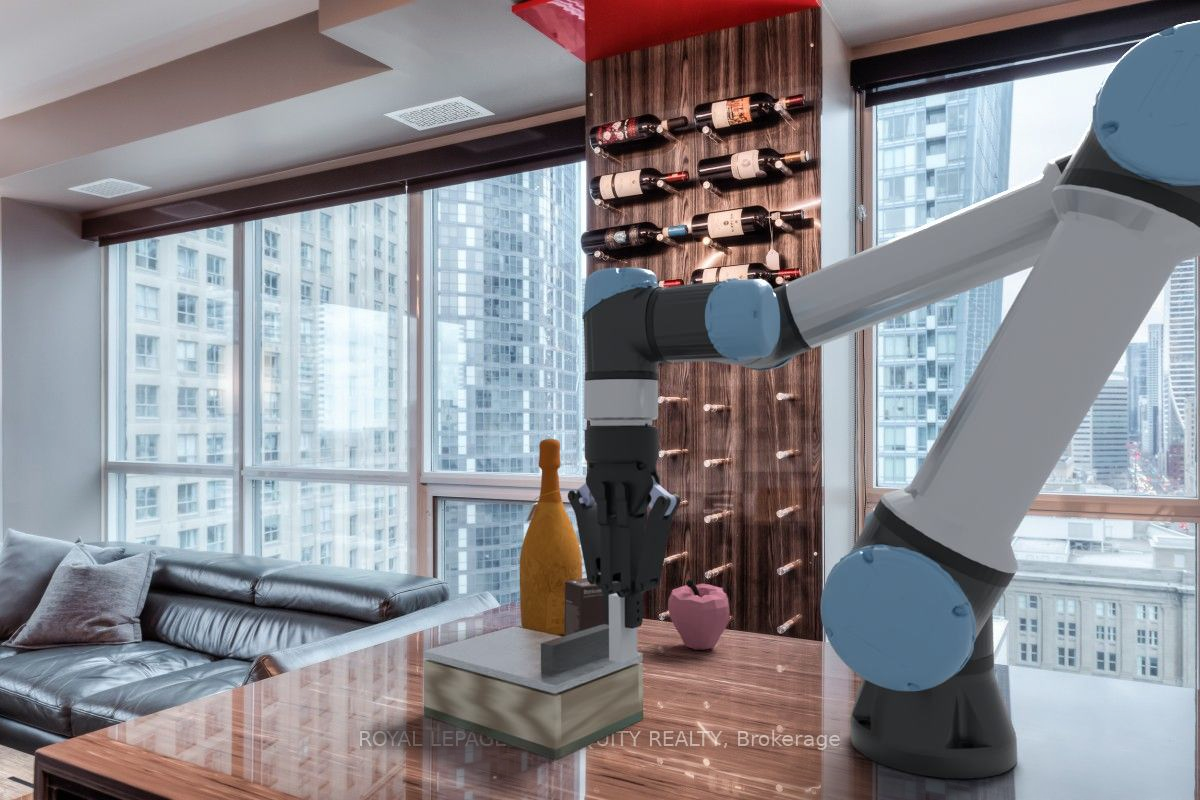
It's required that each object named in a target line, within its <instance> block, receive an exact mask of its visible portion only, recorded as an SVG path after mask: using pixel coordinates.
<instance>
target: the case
mask: <svg viewBox="0 0 1200 800" xmlns="http://www.w3.org/2000/svg"><path fill="white" fill-rule="evenodd" d="M643 666H644V664H643V663H642V662H638V663H635V664H633V665H630V666H627V667H625V668H622V669H619V670H617V671H614V672H611V673H609V674H606V675H604V676H601V677H598V678H596V679H593V680H590V681H588V682H585V683H582V684H580V685H577V686H574V687H572V688H569V689H566V690H564V691H561V692H559V693H556V694H554V693H551V692H547V691H543V690H540V689H536V688H532V687H528V686H525V685H521V684H517V683H514V682H510V681H506V680H503V679H499V678H495V677H492V676H488V675H484V674H480V673H477V672H473V671H469V670H466V669H462V668H458V667H455V666H451V665H447V664H444V663H440V662H436V661H432V660H429V659H426V660H423V716H426V717H429V718H431V719H434V720H437V721H440V722H443V723H445V724H449V725H452V726H455V727H458V728H461V729H463V730H467V731H470V732H472V733H475V734H478V735H481V736H484V737H487V738H490V739H493V740H496V741H499V742H502V743H505V744H507V745H509V746H513V747H515V748H516V747H517V748H519V749H522V750H525V751H528V752H530V753H533V754H536V755H539V756H543V757H546V758H548V759H552V760H554V761H557V760H560V759H561V758H564V757H566V756H568V755H570V754H572V753H574V752H576V751H578V750H581V749H583V748H584V747H587V746H589V745H592V744H593V743H595V742H598V741H600V740H601V739H605V738H606V737H608V736H610V735H613V734H614V733H617V732H619V731H621V730H624V729H626V728H628V727H630V726H632V725H634V724H636V723H638V722H641V721H642V720H644V678H643V677H644V672H643V671H644V667H643Z"/></svg>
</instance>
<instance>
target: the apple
mask: <svg viewBox="0 0 1200 800" xmlns="http://www.w3.org/2000/svg"><path fill="white" fill-rule="evenodd" d="M685 583H686V584H685V585H684V586H683V585H682V586H680V587H677V588H674V589H672V591H671V593H670V595H669V598H668V601H667V603H668V605H667V610H668V615H669V618H670V620H671V622H672V624H673V626H674V627H675V630H676V632H677V633H678V635H679V636H680V638H681V640H682V643H683V645H684V646H685V647H687V648H690V649H693V650H695V651H697V650H700V651H705V650H710V649H713V648H715V647H716V645H717V643H718V642H719V640H720V637H721V635H722V634H723V633H724V631H725V630H726V628H727V626H728V625H729V622H730V620H731V617H730V613H731V612H730V604H729V597H728V594H727V593H725V592H724V588H723V587H719V586H714V585H713V584H706V583H699V584H696V583H695V582H694V581H693V580H692V579H688V580H687V581H686V582H685Z"/></svg>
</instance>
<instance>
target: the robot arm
mask: <svg viewBox="0 0 1200 800" xmlns="http://www.w3.org/2000/svg"><path fill="white" fill-rule="evenodd" d="M1094 100H1095V101H1094V103H1093V105H1092V118H1091V120H1090V122H1089V124H1088V126H1087V127H1086V129H1085V131H1084V133H1083V135H1082V137H1081V138H1080V140H1079V143H1078V144H1077V146H1076V148H1075V149H1073V150H1072V151H1069V152H1067V153H1064V154H1061V156H1058V157H1056V158H1053V159H1050V160H1049V161H1047V163H1046V165H1045V167H1044V168H1043V170H1042V173H1041V174H1040V175H1039V176H1038V177H1036V178H1034V179H1032V180H1029V181H1027V182H1025V183H1022V184H1020V185H1017V186H1015V187H1013V188H1010V189H1009V190H1006V191H1002V192H1001V193H998V194H996V195H993V196H991V197H989V198H986V199H984V200H982V201H979V202H977V203H974V204H972V205H970V206H968V207H965V208H962V209H960V210H958V211H956V212H953V213H951V214H949V215H945V216H943V217H941V218H939V219H936V220H934V221H932V222H929V223H927V224H924V225H922V226H920V227H917V228H915V229H913V230H910V231H908V232H906V233H903V234H900V235H898V236H896V237H893V238H891V239H889V240H887V241H885V242H882V243H879V244H877V245H875V246H872V247H870V248H867V249H865V250H863V251H861V252H858V253H856V254H853V255H851V256H847V257H846V258H844V259H842V260H839V261H837V262H835V263H831V264H829V265H827V266H825V267H823V268H821V269H818V270H815V271H813V272H810V273H807V274H806V275H804V276H803V275H802V276H800V277H798V278H796V279H794V280H791V281H789V282H787V283H786V284H784V285H780V286H778V287H775V288H773V286H772V285H771V283H769V282H768V281H766V280H764V279H761V278H749V279H739V278H735V277H734V278H727V279H726V280H719V281H710V282H701V283H693V284H692V283H691V284H684V285H675V286H663V287H662V286H659V283H658V277H657V275H656V274H655V273H654V272H653V271H652V270H650V269H646V268H640V267H621V268H620V267H608V268H604V269H598V270H596V271H593V272H592V273H591V274H589V275H588V276H587V278H586V280H585V284H584V297H583V298H584V299H583V300H584V301H583V311H582V320H583V339H584V347H583V348H584V385H583V386H584V390H583V392H584V393H583V395H584V396H583V401H584V402H583V405H584V406H583V419H585V420H586V421H589V423H590V426H586V429H584V459H585V461H586V462H588V471H587V473H586V475H585V483H583V484H582V486H580V487H579V488H578V489H573V490H572V489H571V490H569V491H568V493H567V499H568V502H569V503H570V505H571V507H572V510H573V512H574V515H575V520H576V525H577V531H578V536H579V542H580V543H579V544H580V549H581V554H582V557H583V558H582V560H583V564H584V570H585V575H586V578H587V580H588V582H589V583H590V584H595V585H597V586H599V587H600V588H601V590H602V591H603V593H604V620H605V623H606V624H609V660H610V661H614V662H619V663H622V662H625V661H628V660H630V659H633V658H636V657H637V652H638V628H639V627H641V626H642V624H643V595H644V593H646V592H647V591H651V590H655V589H656V588H657V589H658V588H659V587H660V583H661V578H662V573H663V568H664V562H665V558H666V552H667V547H668V541H669V537H670V531H671V527H672V521H673V518H674V515H675V514H676V512H677V510H678V508H679V506H680V505H681V502H682V500H681V496H680V495H678V494H677V493H674V494H673V493H672V494H670V492H668V491H667V490H666V489H665V488H664V487H662V486H661V479H660V476H659V474H658V472H657V471H658V470H657V468H656V467H657V463H658V460H659V458H660V446H659V445H660V444H659V443H660V442H659V441H660V440H659V439H660V438H659V437H660V436H659V435H660V431H659V428H657V426H656V425H653V420H654V421H655V420H657V419H658V418H659V381H658V380H659V364H672V363H697V362H698V363H699V362H702V363H703V362H711V363H712V362H715V363H720V364H726V365H732V366H739V367H744V368H747V369H750V370H753V371H758V372H759V371H761V372H762V371H763V372H764V371H770V370H775V369H778V368H782V367H784V366H786V365H788V363H790V362H791V361H792V360H794V358H795V357H796V356H798V355H802V354H804V353H806V352H808V351H811V350H813V349H815V348H818V347H820V346H823V345H825V344H828V343H831V342H834V341H836V340H837V341H838V340H839V339H841V338H844V337H846V336H850V335H852V334H855V333H858V332H861V331H863V330H866V329H869V328H871V327H874V326H877V325H880V324H881V323H882V324H883V323H884V322H887V321H890V320H893V319H896V318H898V317H901V316H904V315H906V314H909V313H912V312H914V311H917V310H920V309H923V308H925V307H927V306H931V305H933V304H936V303H939V302H941V301H944V300H947V299H949V298H952V297H955V296H957V295H961V294H963V293H966V292H968V291H970V290H974V289H976V288H979V287H981V286H985V285H987V284H990V283H992V282H996V281H999V280H1001V279H1003V278H1006V277H1009V276H1011V275H1014V274H1017V273H1019V272H1023V271H1024V270H1027V269H1030V268H1032V269H1031V271H1030V272H1029V274H1028V275H1027V278H1026V279H1025V281H1024V282H1023V285H1022V286H1021V288H1020V290H1019V292H1018V293H1017V295H1016V297H1015V299H1014V300H1013V302H1012V304H1011V306H1010V308H1009V309H1008V311H1007V313H1006V314H1005V316H1004V318H1003V320H1002V321H1001V323H1000V325H999V327H998V329H997V331H996V332H995V334H994V336H993V338H992V340H991V341H990V343H989V345H988V346H987V348H986V349H985V352H984V353H983V356H982V357H981V359H980V361H979V362H978V364H977V366H976V368H975V370H974V371H973V373H972V375H971V377H970V378H969V380H968V381H967V383H966V385H965V387H964V388H963V391H962V392H961V394H960V396H959V398H958V400H957V401H956V403H955V405H954V406H953V408H952V410H951V412H950V414H949V415H948V417H947V419H946V420H945V422H944V424H943V425H942V428H941V430H940V432H939V433H938V435H937V437H936V439H935V440H934V442H933V444H932V445H931V447H930V449H929V451H927V452H928V453H927V454H926V456H925V458H924V459H923V462H922V463H921V465H920V466H919V468H918V470H917V472H916V474H915V476H914V478H913V479H912V481H911V482H910V484H909V485H907V486H906V487H904V488H900V489H896V490H892V491H888V492H885V493H883V495H881V497H880V499H879V500H878V502H877V505H876V506H875V508H874V509H873V511H870V512H869V513H867V515H866V516H865V519H864V527H863V529H862V530H861V533H860V534H859V536H858V538H857V540H856V541H855V543H854V544H853V546H852V548H851V550H850V552H848V553H847V554H845V555H844V556H842V557H841V558H840V560H839V561H838V562H837V563H835V564H834V565H833V567H832V569H831V570H830V572H829V573H828V576H827V578H826V580H825V583H824V586H823V589H822V591H821V592H822V593H821V596H820V597H821V598H820V618H821V619H820V620H821V623H822V626H823V629H824V633H825V634H826V635H825V636H826V638H827V640H828V643H829V644H830V646H831V648H832V649H833V651H834V652H835V654H836V655H837V657H839V659H840V660H841V661H842V662H843V663H844V664H845V666H847V667H848V668H849V669H850V670H851V671H852V672H854V673H855V674H857V675H858V676H859V677H860V678H861V679H862V680H861V683H860V685H859V689H858V691H857V695H856V697H855V700H854V704H853V707H852V710H851V714H850V722H849V723H850V742H851V744H852V745H853V747H854V748H855V749H856V750H857V751H858V752H859V753H861V754H862V755H863V756H865V757H866V758H868V759H870V760H871V761H874V762H877V763H878V764H882V765H883V766H886V767H889V768H892V769H896V770H899V771H903V772H906V773H910V774H916V775H921V776H928V777H933V778H942V779H944V778H945V779H978V778H979V779H980V778H988V777H993V776H997V775H1001V774H1003V773H1006V772H1009V770H1012V768H1014V767H1015V766H1016V764H1017V762H1018V745H1017V744H1018V741H1017V740H1018V739H1017V734H1016V731H1015V727H1014V724H1013V722H1012V720H1011V717H1010V714H1009V711H1008V709H1007V705H1006V703H1005V700H1004V697H1003V694H1002V692H1001V689H1000V686H999V684H998V681H997V677H996V674H995V656H994V655H995V654H994V653H995V652H994V650H995V649H994V648H995V647H994V646H995V645H994V619H993V618H994V617H993V613H994V612H993V611H994V610H995V608H996V606H997V604H998V603H999V601H1000V599H1001V598H1002V596H1003V594H1005V591H1006V590H1007V588H1008V586H1009V585H1010V583H1011V581H1012V580H1013V579H1014V576H1015V575H1016V573H1017V571H1018V570H1019V564H1018V561H1017V558H1016V555H1015V552H1014V550H1013V547H1012V538H1014V535H1015V534H1016V532H1017V530H1018V529H1019V528H1020V525H1021V524H1022V522H1023V520H1024V518H1025V517H1026V515H1027V514H1028V512H1029V511H1030V509H1031V508H1032V506H1033V504H1034V503H1035V501H1036V499H1037V498H1038V496H1039V494H1040V492H1041V490H1042V489H1043V487H1044V485H1045V484H1046V482H1047V481H1048V479H1049V477H1050V476H1051V474H1052V473H1053V471H1054V469H1055V467H1056V465H1057V464H1058V462H1059V461H1060V459H1061V457H1062V456H1063V454H1064V453H1065V451H1066V450H1067V448H1068V446H1069V444H1070V443H1071V441H1072V439H1073V438H1074V436H1075V435H1076V433H1077V431H1078V429H1079V427H1080V426H1081V425H1082V423H1083V422H1084V420H1085V418H1086V416H1087V415H1088V413H1089V411H1090V409H1091V408H1092V406H1093V404H1094V403H1095V401H1096V400H1097V398H1098V397H1099V394H1100V393H1101V392H1102V390H1103V388H1104V387H1105V385H1106V383H1107V382H1108V380H1109V378H1110V376H1111V374H1113V372H1114V370H1115V368H1116V366H1117V365H1118V363H1119V362H1120V361H1121V358H1122V357H1123V355H1124V354H1125V352H1126V350H1127V348H1128V346H1129V345H1130V344H1131V341H1132V340H1133V338H1134V337H1135V335H1136V333H1137V332H1138V331H1139V329H1140V326H1141V325H1142V323H1143V322H1144V320H1145V318H1146V317H1147V315H1148V314H1149V312H1150V310H1151V309H1152V307H1153V306H1154V303H1156V300H1157V298H1158V297H1159V295H1160V293H1161V292H1162V291H1163V289H1164V287H1165V285H1166V284H1167V282H1168V280H1169V278H1170V277H1171V275H1172V274H1173V272H1174V271H1175V268H1176V267H1177V266H1178V265H1179V264H1182V263H1183V262H1185V261H1189V260H1191V259H1194V258H1197V257H1200V20H1196V21H1190V22H1185V23H1181V24H1177V25H1175V26H1172V27H1169V28H1166V29H1164V30H1162V31H1160V32H1158V33H1153V34H1152V35H1150V36H1149V37H1146V38H1144V39H1143V40H1141V41H1140V42H1139V43H1137V44H1136V45H1134V46H1133V47H1131V48H1130V49H1129V50H1128V51H1127V52H1126V53H1124V55H1123V56H1122V57H1120V59H1119V60H1118V61H1117V62H1116V63H1115V64H1114V66H1113V67H1112V69H1111V70H1110V72H1109V73H1108V74H1107V75H1106V76H1105V78H1104V79H1103V81H1102V82H1101V84H1100V86H1099V87H1098V90H1097V92H1096V95H1095V99H1094ZM648 507H649V508H650V511H649V514H648Z"/></svg>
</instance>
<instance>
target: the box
mask: <svg viewBox="0 0 1200 800" xmlns="http://www.w3.org/2000/svg"><path fill="white" fill-rule="evenodd" d="M602 624H606V623H605V620H604V593H603V591H602V590H601V588H600V587H599V586H597V585H595V584H590V583H589V582H588V580H587V577H582V579H578V580H570V581H565V629H564V632H565V633H564V635H563V636H566V635H569V634H573V633H576V632H579V631H583V630H586V629H589V628H592V627H596V626H599V625H602ZM606 625H609V624H606Z"/></svg>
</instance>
